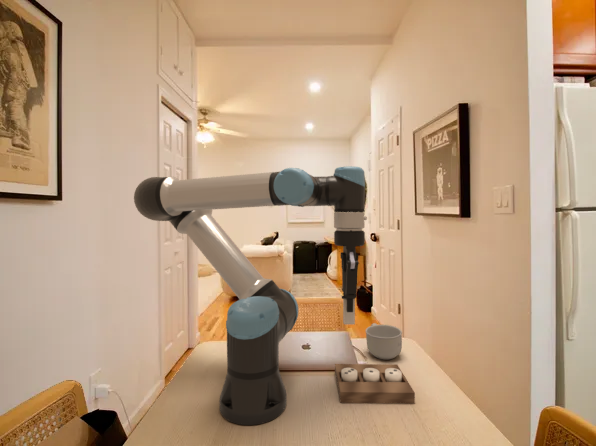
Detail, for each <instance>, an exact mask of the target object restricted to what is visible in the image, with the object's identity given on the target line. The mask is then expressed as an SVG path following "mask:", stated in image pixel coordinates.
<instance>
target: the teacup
mask: <svg viewBox="0 0 596 446" xmlns="http://www.w3.org/2000/svg"><path fill="white" fill-rule="evenodd" d="M402 334H403V331H402V329H400V328H399V327H396V326H394V325H390V324H377V323H376V322H374V323H372V324H370V326H368V327H366V328H365V338H366V339H365V340H366V348H367V351H368V352H369V353H370V354H371V355H373V357H375V358H377V359H379V360H393V359H394V358H396V357H397V356H399V355H400V354H401V352H402V348H403V346H402V345H403V339H402Z"/></svg>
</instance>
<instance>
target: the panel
mask: <svg viewBox="0 0 596 446" xmlns="http://www.w3.org/2000/svg"><path fill="white" fill-rule="evenodd" d="M344 368H353V369H356V370H357V382H341V370H342V369H344ZM365 368H374V369H377V370H378V371H379V382H363V370H364V369H365ZM387 368H395V369H398V370H400V371H401V372H402V370H401V368H400V366H399V365H398V364H394V363H393V364H386V363H385V364H382V363H381V364H380V363H379V364H378V363H377V364H374V363H373V364H370V363H369V364H368V363H365V364H364V363H361V364H360V363H357V364H356V363H334V375H335V376H334V377H335V381H336V386H337V391H338V395H339V401H340V403H341V404H343V403H344V404H411V405H413V404H416V396H415V395H416V394H415V391H414V389H413V387H412V385H410V383H409V381H408V380H407V378H406V377H405V374H404V373H403V372H402V382H386V381H385V370H386V369H387Z"/></svg>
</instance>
